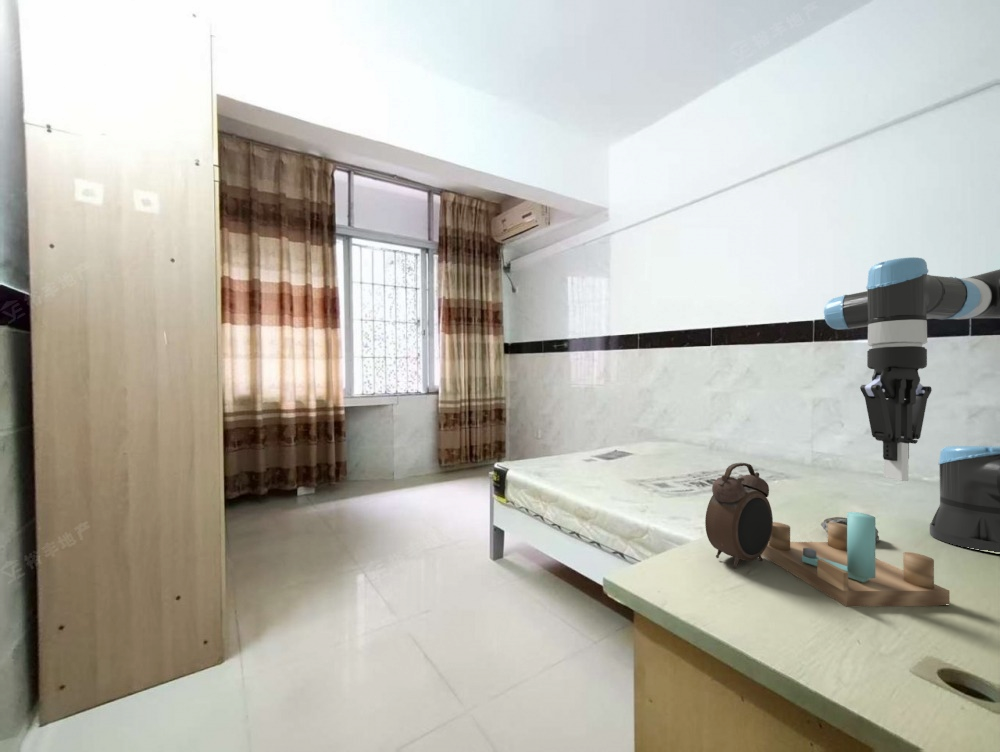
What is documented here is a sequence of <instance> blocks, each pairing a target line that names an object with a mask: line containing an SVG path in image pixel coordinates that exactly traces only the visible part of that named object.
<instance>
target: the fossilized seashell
mask: <svg viewBox="0 0 1000 752" xmlns="http://www.w3.org/2000/svg"><path fill="white" fill-rule="evenodd" d="M830 522H833V523H840V524H844V525H847V517H842V516H836V517H835V516H833V517H829V518H826V519H824V520H823V522H821V523H820V526H821V527H822V528H823V530H824V531H825V532H826V533H827V534H828V523H830ZM879 541H880V536H879V530H878V528H877V527H876V526H875V543H878V542H879Z"/></svg>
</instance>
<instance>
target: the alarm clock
mask: <svg viewBox="0 0 1000 752" xmlns="http://www.w3.org/2000/svg"><path fill="white" fill-rule="evenodd" d="M739 467H746V468H747V470H748V473H749V474H743V475H741V476H740V477H737V478H736V477H733V476H731V474H732V472H733V470H735V469H736V468H739ZM711 491H712V496H711V497H710V500H709V502H708V504H707V507H706V511H705V519H704V520H705V522H704V524H705V532H706V536H707V539H708V541H709V543H710V545H712V547H713V548H714V549H716V550H717V553H716V555H715V558H716V559H719V558H720V555H721V554H722V553H724V554H725V555H727V556H730V557H733V558H734V561H733V564H732V567H733V568H734V569H737V565H738V564H739V562H740V560H742V561H748V562H752V561H755V560H757V559H758V560H759V561H760V562H761V561H763V557H762V555H761V554H762V553H763V552H764V550H765V549H766V547H767V545H768V543H769V540H770V537H771V533H772V527H773V522H774V518H773V512H772V507H771V504H770V501H769V499H768V497H769V495H770V487H769V484H768V482H767V481H766V480H764V479H763V478H762V477H760V472H758V471H756V472H755V470H754V467H753V466H752V465H751V463H750V464H749V463H746V462H736V463H735V462H734V463H732V464H731V465H728V466H727V468H726V470H725V472H724V474H723V475H721V477H717V479H715V481H713V483H712V486H711Z"/></svg>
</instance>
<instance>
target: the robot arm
mask: <svg viewBox="0 0 1000 752" xmlns="http://www.w3.org/2000/svg"><path fill="white" fill-rule="evenodd" d="M865 288H866V290H867V291H861V292H856V293H855V292H854V293H851V294H843V295H842V296H841V295H840V296H837V297H833V298H832V299H830V300H828V302H826V304H825V306H824V309H823V314H824V315H823V316H824V320H825V324H827V326H829V327H830V328H831V329H833V330H852V329H858V328H865V327H867V345H868V347H871V348H870V349H868V350H867V351H866V352H867V355H866V358H867V363H866V364H867V365H866V366H867V369H870V370H873V375H872V376H871V382H870V383H868V384H861V385H860V387H859V388H860V392H861V393H862V395H863V397H864V400H865V405H866V412H867V415H868V421H869V427H870V430H871V431H870V432H871V436H872V438H874V439H875V440H876V441H879V442H882V458H883V478H886V479H889V480H894V481H895V480H896V481H899V482H909V459H910V444H915V445H916V444H917V443H918V441H919V440H920V438H921V434H922V430H923V429H922V428H923V424H924V423H923V422H924V419H925V413H926V407H927V404H928V403H927V402H928V399H929V397H930V395H931V394H932V391H933V389H932V387H931V386H929V385H928V386H924V385H923V384H921V383H920V382H921V377H920V375H919V370H922V369H925V368H927V366H928V349H927V348H926V347H924V346H923V345H925V344H928V320H932V319H935V320H938V321H940V320H941V321H943V320H968V319H1000V268H999V269H996V270H995V269H994V270H991V271H987V272H984V273H981V274H977V275H973V276H968V277H963V278H962V277H960V278H959V277H956V276H939V275H931V274H929V269H928V264H927V262H926V260H925V259H924V258H922V257H914V256H913V257H902V258H901V257H900V258H894V259H889V260H885V261H881V262H878V263H875V264H874V265H873V266H871V267H870V268H869V270H868V275H867V284H866V287H865ZM938 461H939V462H938V465H939V506H938V508H937V510H936V512H935V513H934V516H933V518H932V519H931V522H930V524H929V535H930V536H931V537H933V538H934V539H937V540H938V541H940V542H944V543H946V544H949V543H950V545H952V544H953V545H952V546H956V545H958V546H957V547H959V546H962V547H961V548H963V547H969V548H974V549H979V550H988V551H994V552H1000V446H998V445H997V446H992V445H991V446H989V445H983V446H982V445H979V446H978V445H951V446H949V445H948V446H945V447H943V448H941V450H940V453H939V460H938Z"/></svg>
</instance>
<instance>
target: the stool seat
mask: <svg viewBox="0 0 1000 752" xmlns="http://www.w3.org/2000/svg"><path fill="white" fill-rule="evenodd" d="M803 548H810V549H814V550H816V551H817V557H820V558H823V559H826V560H829V561H832V562H835V563H839V564H842V565H845V566H847V525H844V524H840V523H833V522H830V523H828V533H827V541H808V542H807V541H791V526H790V525H789V524H786V523H782V522H776V521H773V527H772V533H771V537H770V540H769V543H768V545H767V547H766V549H765V550H764V552H763V553H762V554H761V557H762V556H763V557H764V558H766V559H768V561H770V562H772V563H774V564H775V565H777V566H778V567H781V569H784V570H785V571H787V572H788V573H790V574H791V575H794V576H795V577H797V578H798V579H800V580H802V581H804V582H805V583H807V584H809V585H810V586H812V587H814V588H815V589H817V590H818V591H821V593H823V594H825V595H827V596H828V597H830V598H831V599H832V600H834V601H835V600H836V601H837V603H840V604H842V605H843V606H845V607H846V608H847V607H940V606H939V605H946V604H950V599H951V598H950V590H949V589H947V588H945V587H942V586H940V585H938V584H935V560H934V558H932V557H930V556H928V555H924V554H921V553H916V552H910V551H909V552H907V551H905V552H903V558H902V560H903V563H902V564H903V567H902V568H903V569H901V568H899V567H896V566H895V565H892V564H890V563H887V562H885V561H883V560H881V559H878V558H876V557H875V578H869V580H868V581H866V582H861V581H858V580H855V579H852V578H849V577H848V572H846V571H844V570H842V569H840V568H838V567H836V566H834V565H832V564H830V563H828V562H826V561H824V560H822V559H817V566H814V565H811V564H808V563H805V562H802V556H803ZM950 605H951V604H950Z"/></svg>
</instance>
